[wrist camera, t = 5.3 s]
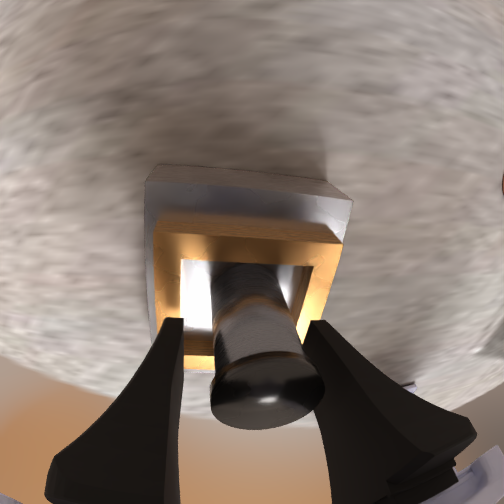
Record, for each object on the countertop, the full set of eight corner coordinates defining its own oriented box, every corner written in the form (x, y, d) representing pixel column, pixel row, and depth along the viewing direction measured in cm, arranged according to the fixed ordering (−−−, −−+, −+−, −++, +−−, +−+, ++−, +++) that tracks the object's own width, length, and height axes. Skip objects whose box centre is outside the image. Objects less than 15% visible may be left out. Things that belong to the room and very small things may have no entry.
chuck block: (287, 336, 19) (303, 384, 15) (159, 333, 17) (153, 384, 14) (327, 181, 14) (364, 209, 11) (158, 164, 13) (139, 188, 9)
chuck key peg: (277, 322, 14) (309, 424, 9) (205, 323, 13) (210, 431, 8) (290, 260, 12) (339, 362, 7) (207, 257, 12) (211, 369, 7)
